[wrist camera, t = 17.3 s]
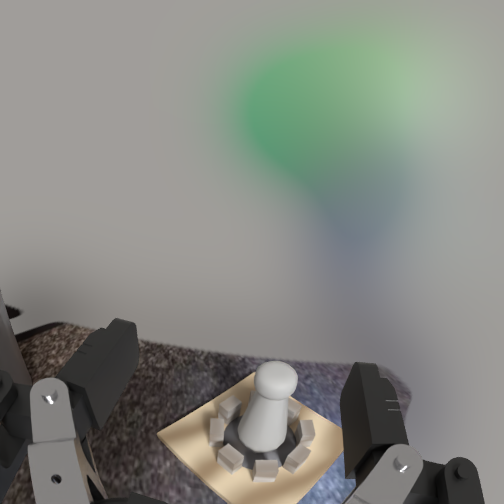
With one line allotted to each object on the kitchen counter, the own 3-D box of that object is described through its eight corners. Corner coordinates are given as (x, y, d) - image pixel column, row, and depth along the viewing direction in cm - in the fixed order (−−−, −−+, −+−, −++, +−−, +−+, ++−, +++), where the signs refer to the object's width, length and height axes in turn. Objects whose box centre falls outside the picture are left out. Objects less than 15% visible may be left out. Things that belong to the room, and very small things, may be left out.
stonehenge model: (157, 437, 34) (154, 419, 32) (253, 376, 47) (256, 357, 45) (266, 532, 24) (272, 523, 22) (351, 439, 36) (362, 423, 35)
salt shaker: (262, 467, 31) (283, 403, 26) (226, 440, 34) (234, 370, 29) (291, 439, 35) (317, 370, 30) (257, 416, 38) (272, 344, 33)
